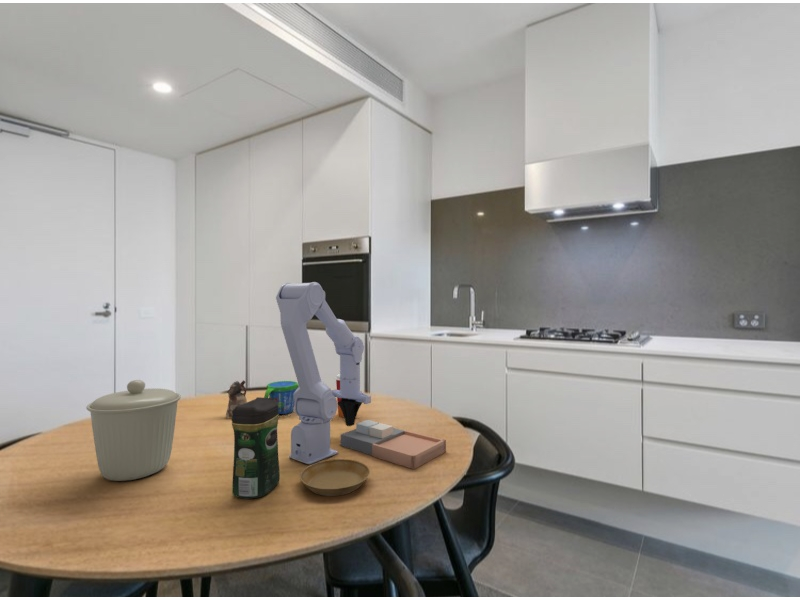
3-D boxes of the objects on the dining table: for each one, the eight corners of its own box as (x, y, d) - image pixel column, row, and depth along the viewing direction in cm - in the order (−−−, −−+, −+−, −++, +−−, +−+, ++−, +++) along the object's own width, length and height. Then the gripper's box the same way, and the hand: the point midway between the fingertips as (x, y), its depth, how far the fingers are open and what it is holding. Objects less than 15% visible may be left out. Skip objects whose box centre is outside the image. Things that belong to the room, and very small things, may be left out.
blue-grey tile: (368, 434, 108) (368, 426, 108) (356, 431, 111) (356, 423, 111) (379, 430, 111) (379, 422, 112) (367, 427, 114) (367, 419, 114)
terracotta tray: (413, 469, 93) (413, 456, 93) (372, 456, 101) (372, 444, 101) (445, 451, 104) (445, 439, 104) (406, 441, 112) (405, 430, 112)
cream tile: (382, 438, 105) (382, 430, 105) (369, 435, 108) (369, 427, 108) (393, 434, 108) (393, 426, 108) (380, 431, 111) (380, 423, 111)
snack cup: (273, 420, 133) (273, 389, 133) (254, 415, 139) (254, 385, 139) (309, 409, 146) (309, 381, 146) (290, 405, 152) (290, 378, 152)
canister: (102, 462, 97) (102, 376, 98) (186, 452, 104) (185, 371, 104) (71, 496, 81) (72, 391, 81) (173, 481, 87) (173, 384, 87)
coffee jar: (252, 478, 89) (251, 394, 89) (285, 480, 87) (284, 395, 87) (224, 499, 79) (224, 404, 79) (260, 502, 77) (260, 406, 78)
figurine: (227, 413, 141) (227, 379, 141) (248, 412, 143) (248, 378, 143) (224, 419, 134) (224, 383, 134) (247, 417, 136) (247, 382, 136)
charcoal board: (373, 455, 101) (373, 443, 101) (340, 445, 108) (340, 434, 109) (404, 441, 111) (404, 430, 111) (372, 433, 119) (372, 422, 119)
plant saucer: (384, 484, 85) (384, 472, 85) (325, 509, 75) (325, 495, 75) (343, 464, 96) (343, 454, 96) (287, 484, 86) (287, 472, 86)
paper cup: (359, 412, 141) (359, 372, 141) (355, 418, 134) (355, 376, 134) (338, 412, 142) (337, 372, 142) (332, 418, 134) (332, 376, 134)
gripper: (378, 378, 114) (378, 426, 114) (342, 373, 123) (342, 417, 123) (360, 382, 109) (361, 432, 109) (325, 376, 118) (325, 423, 117)
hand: (350, 425), depth 115 cm, fingers closed
